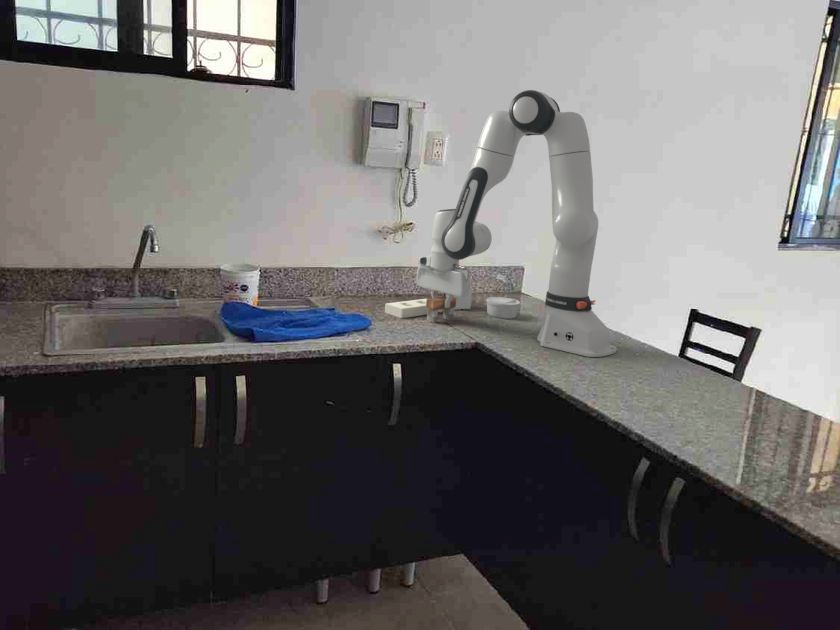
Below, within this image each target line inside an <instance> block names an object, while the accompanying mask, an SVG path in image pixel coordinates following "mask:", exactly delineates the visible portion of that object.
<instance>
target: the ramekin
mask: <svg viewBox="0 0 840 630" xmlns="http://www.w3.org/2000/svg"><path fill="white" fill-rule="evenodd" d="M520 306H521V302H520V301H519V300H518V299H514V298H511V297H503V296H501V297H500V296H491V297H490V296H489V297H487V298H486V309H487V311H486V313H487V314H488V316H490V317H492V318H494V319H501V320H502V319H503V320H513V319H515V318H516V317H517V316H518V312H519V309H520Z"/></svg>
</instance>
